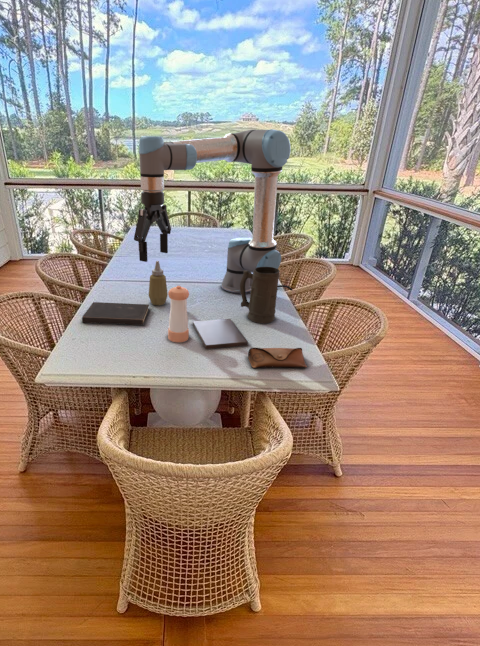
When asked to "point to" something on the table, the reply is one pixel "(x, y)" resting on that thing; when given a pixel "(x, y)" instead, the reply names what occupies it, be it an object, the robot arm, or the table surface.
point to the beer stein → (261, 294)
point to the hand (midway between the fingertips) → (154, 256)
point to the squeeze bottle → (157, 286)
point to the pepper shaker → (178, 315)
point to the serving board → (219, 333)
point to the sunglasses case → (276, 358)
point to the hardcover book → (116, 313)
